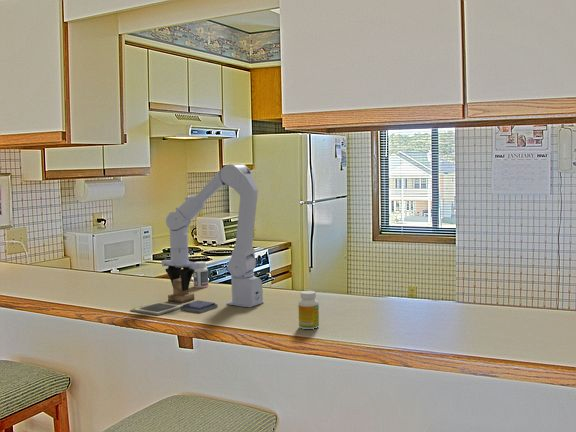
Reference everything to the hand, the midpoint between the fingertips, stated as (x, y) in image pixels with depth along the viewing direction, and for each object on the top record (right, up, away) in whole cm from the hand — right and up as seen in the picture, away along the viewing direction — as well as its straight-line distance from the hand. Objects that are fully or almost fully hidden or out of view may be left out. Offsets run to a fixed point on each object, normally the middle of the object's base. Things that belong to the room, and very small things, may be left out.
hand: (180, 289), depth 207 cm
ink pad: (+8, -5, -12) cm, 15 cm away
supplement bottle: (+41, -6, -36) cm, 55 cm away
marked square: (-5, -5, -11) cm, 13 cm away
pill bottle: (+4, -2, +22) cm, 22 cm away
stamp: (0, -4, 0) cm, 4 cm away
